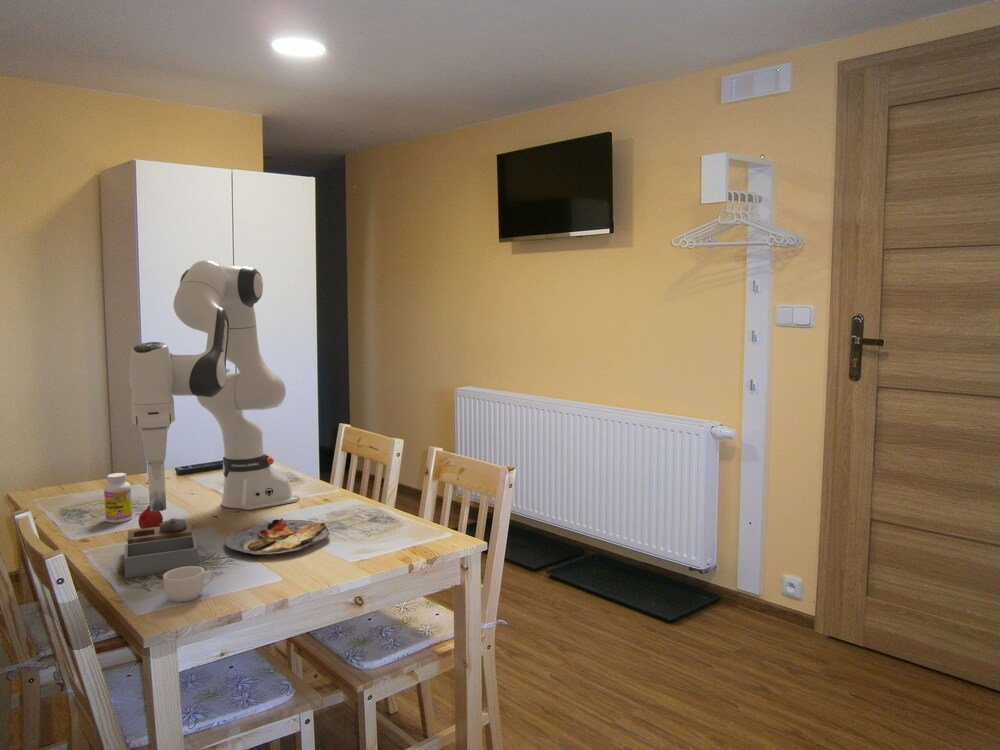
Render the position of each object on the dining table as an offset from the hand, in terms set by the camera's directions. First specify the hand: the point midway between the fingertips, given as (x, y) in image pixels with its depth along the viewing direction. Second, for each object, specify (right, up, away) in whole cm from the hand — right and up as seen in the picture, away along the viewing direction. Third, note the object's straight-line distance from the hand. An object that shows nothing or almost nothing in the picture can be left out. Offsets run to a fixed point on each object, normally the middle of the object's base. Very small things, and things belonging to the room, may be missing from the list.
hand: (156, 474), depth 172 cm
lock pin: (0, -8, +1) cm, 8 cm away
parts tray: (0, -21, +2) cm, 21 cm away
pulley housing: (-4, -20, +12) cm, 24 cm away
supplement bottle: (-28, -18, +38) cm, 50 cm away
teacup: (+14, -23, -15) cm, 31 cm away
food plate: (+23, -20, +18) cm, 35 cm away
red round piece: (-13, -19, +25) cm, 34 cm away
